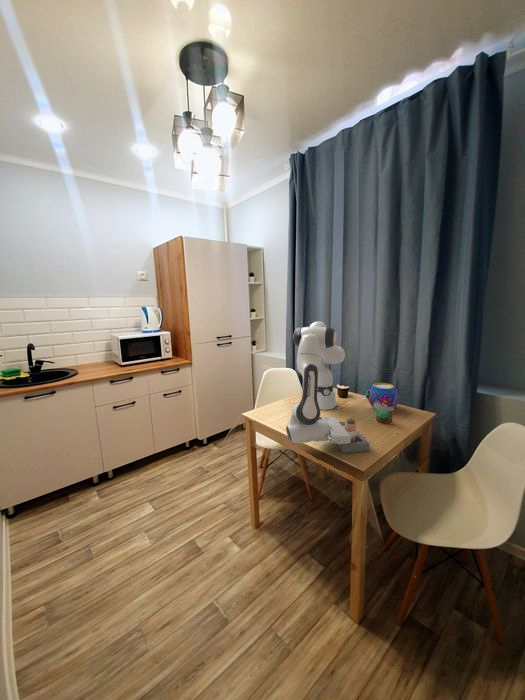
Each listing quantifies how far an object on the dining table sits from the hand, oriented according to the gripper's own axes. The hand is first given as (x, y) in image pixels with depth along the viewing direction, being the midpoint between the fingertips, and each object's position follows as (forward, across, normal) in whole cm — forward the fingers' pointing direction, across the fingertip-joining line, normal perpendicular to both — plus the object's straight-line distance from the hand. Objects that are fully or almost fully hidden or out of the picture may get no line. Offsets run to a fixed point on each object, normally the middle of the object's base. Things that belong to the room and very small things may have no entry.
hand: (352, 428), depth 125 cm
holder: (-1, 0, +9) cm, 9 cm away
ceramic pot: (+36, +38, +9) cm, 53 cm away
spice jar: (-1, 0, +8) cm, 8 cm away
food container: (+26, +22, +9) cm, 35 cm away
